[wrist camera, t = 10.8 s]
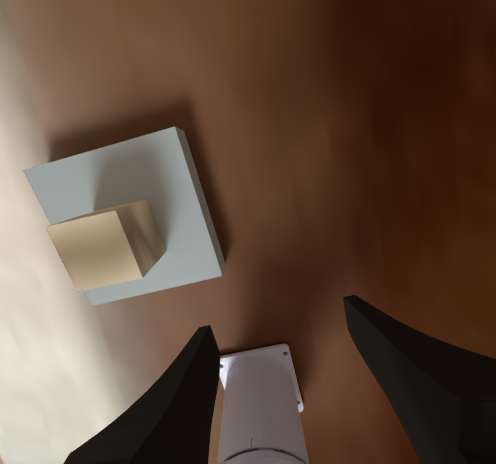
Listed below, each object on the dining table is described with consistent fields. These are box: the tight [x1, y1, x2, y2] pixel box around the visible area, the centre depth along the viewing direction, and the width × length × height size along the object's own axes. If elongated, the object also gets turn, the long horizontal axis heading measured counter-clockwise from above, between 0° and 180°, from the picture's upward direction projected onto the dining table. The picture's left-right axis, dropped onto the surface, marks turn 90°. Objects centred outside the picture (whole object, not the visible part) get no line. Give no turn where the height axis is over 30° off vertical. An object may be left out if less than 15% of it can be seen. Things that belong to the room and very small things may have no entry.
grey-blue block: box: [23, 127, 225, 306], centre depth 20 cm, size 12×12×3 cm
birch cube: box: [45, 199, 166, 292], centre depth 17 cm, size 4×4×4 cm
